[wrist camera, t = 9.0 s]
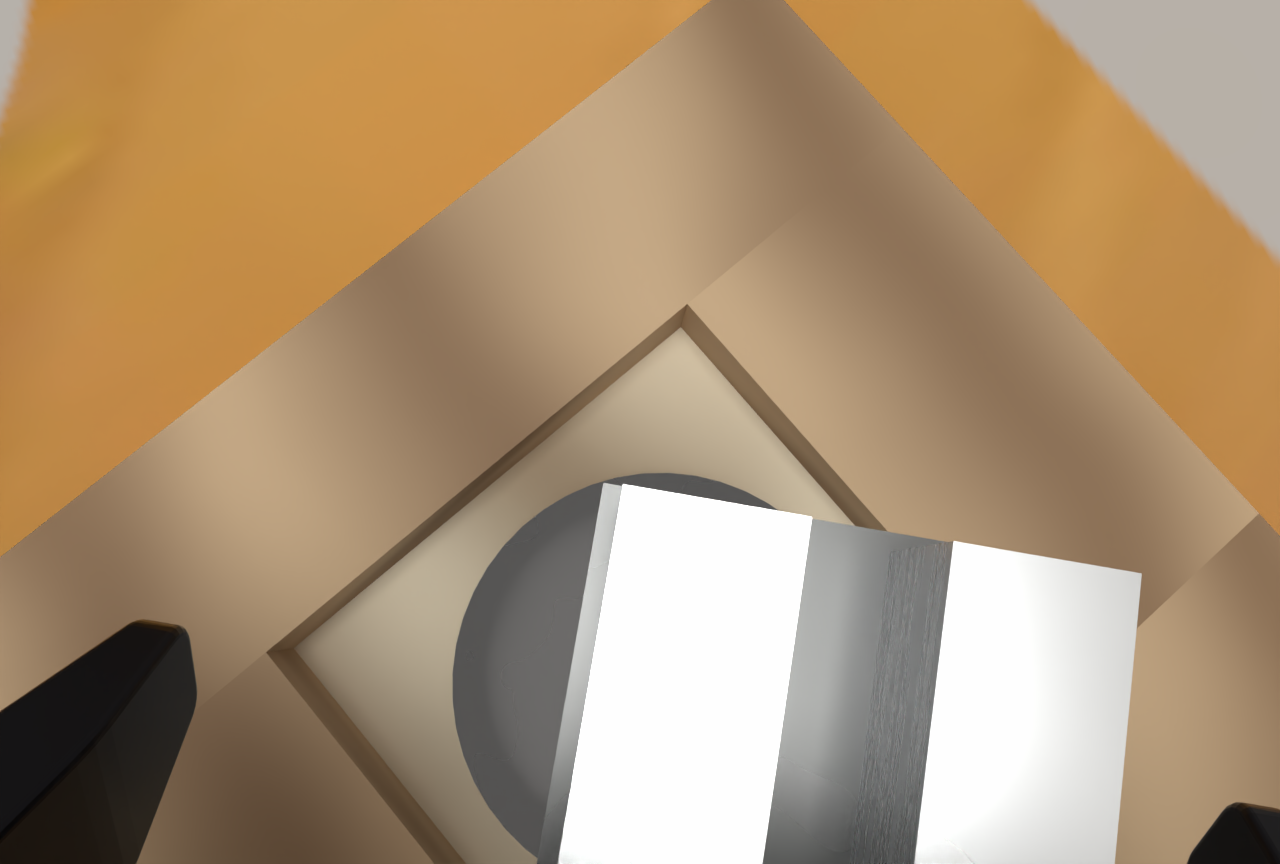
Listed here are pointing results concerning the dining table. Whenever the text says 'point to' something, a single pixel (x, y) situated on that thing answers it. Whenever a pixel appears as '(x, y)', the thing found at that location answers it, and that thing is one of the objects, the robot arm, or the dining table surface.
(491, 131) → the dining table surface
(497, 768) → the round base pedestal
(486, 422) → the square wooden tray
